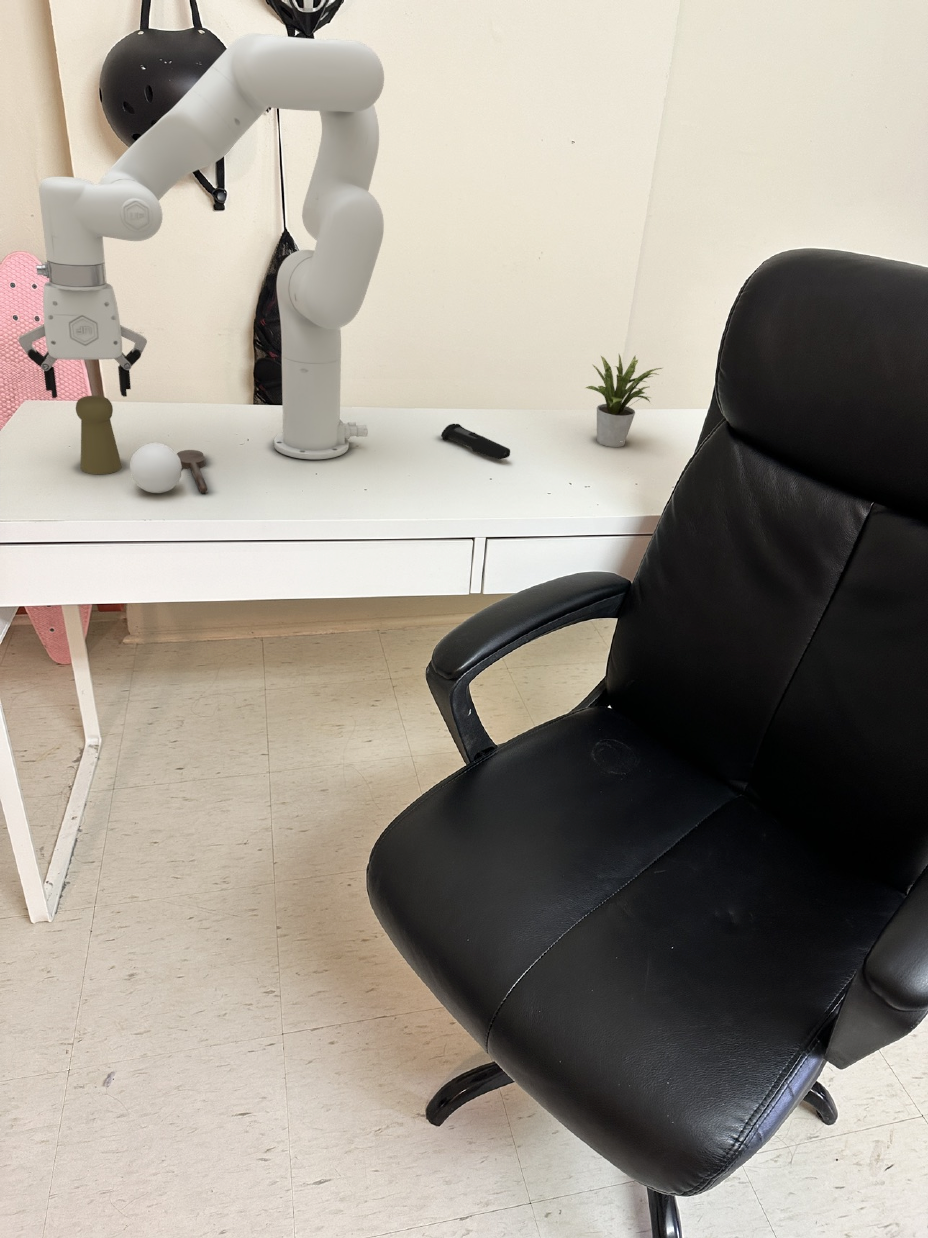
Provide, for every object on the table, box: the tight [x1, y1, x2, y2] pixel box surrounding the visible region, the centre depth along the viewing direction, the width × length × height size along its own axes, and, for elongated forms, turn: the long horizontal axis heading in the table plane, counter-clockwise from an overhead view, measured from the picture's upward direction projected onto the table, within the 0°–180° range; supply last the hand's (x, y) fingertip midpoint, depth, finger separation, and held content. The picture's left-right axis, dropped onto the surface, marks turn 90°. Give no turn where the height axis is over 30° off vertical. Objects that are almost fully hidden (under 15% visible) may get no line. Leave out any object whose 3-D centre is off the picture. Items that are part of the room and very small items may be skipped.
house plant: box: [585, 354, 663, 448], centre depth 171 cm, size 14×14×16 cm
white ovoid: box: [129, 442, 184, 494], centre depth 140 cm, size 10×7×7 cm
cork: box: [75, 395, 123, 475], centre depth 144 cm, size 6×6×11 cm
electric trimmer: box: [440, 423, 511, 460], centre depth 166 cm, size 4×16×3 cm, turn 42°
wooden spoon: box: [176, 449, 209, 494], centre depth 147 cm, size 16×4×1 cm, turn 22°
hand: (89, 394), depth 141 cm, fingers open, 9 cm apart
